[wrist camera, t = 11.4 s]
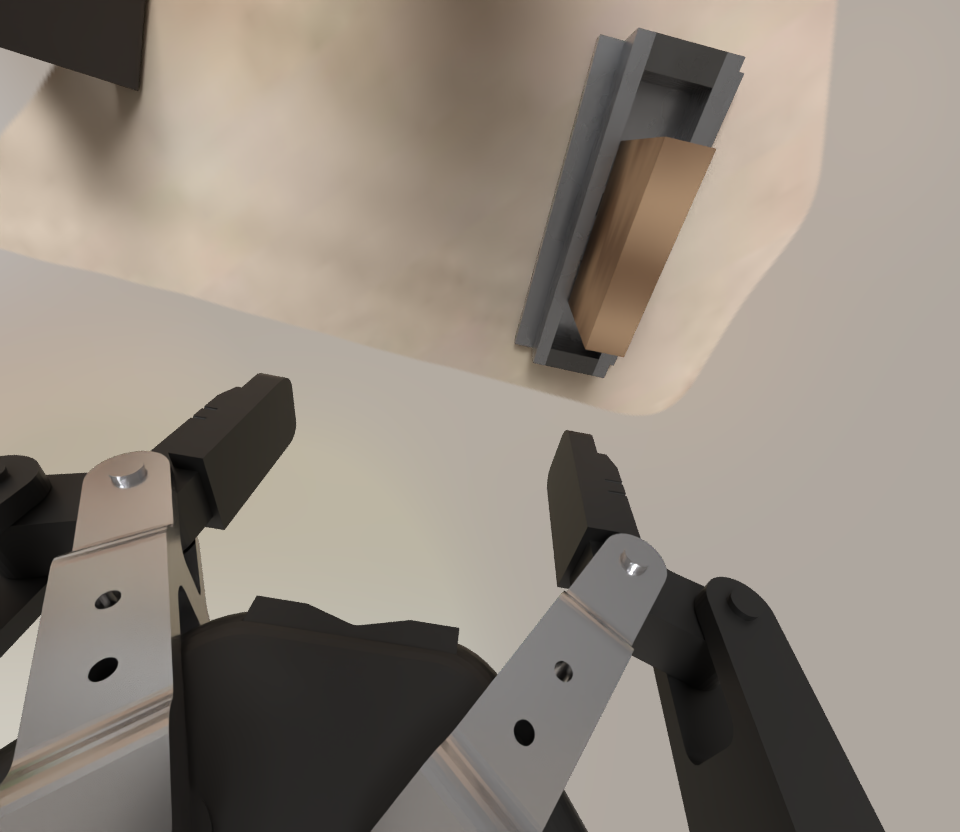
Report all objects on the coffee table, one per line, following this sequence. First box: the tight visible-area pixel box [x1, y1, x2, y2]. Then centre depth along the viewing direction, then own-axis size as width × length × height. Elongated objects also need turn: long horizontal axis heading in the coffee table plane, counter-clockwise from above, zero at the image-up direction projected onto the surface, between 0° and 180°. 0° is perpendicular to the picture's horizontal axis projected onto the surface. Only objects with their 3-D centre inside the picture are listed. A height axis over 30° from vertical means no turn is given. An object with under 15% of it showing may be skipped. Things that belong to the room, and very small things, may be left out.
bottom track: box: [515, 28, 745, 378], centre depth 28 cm, size 20×9×4 cm, turn 168°
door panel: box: [568, 137, 716, 357], centre depth 25 cm, size 11×2×9 cm, turn 169°
